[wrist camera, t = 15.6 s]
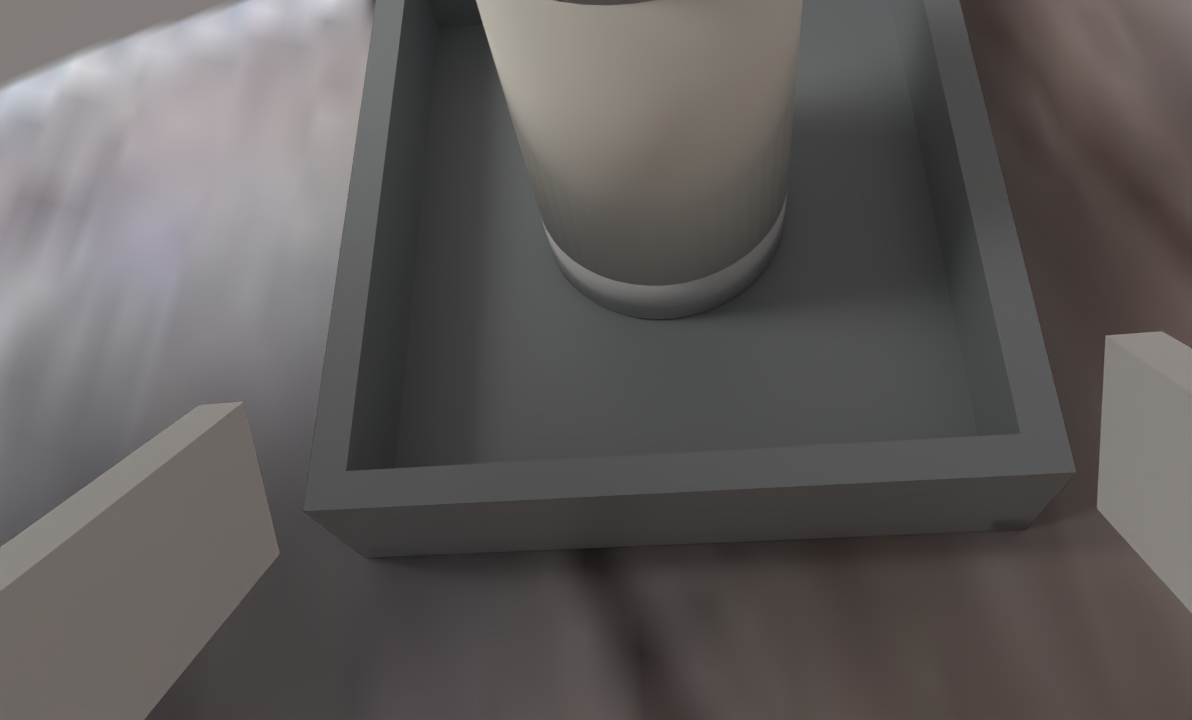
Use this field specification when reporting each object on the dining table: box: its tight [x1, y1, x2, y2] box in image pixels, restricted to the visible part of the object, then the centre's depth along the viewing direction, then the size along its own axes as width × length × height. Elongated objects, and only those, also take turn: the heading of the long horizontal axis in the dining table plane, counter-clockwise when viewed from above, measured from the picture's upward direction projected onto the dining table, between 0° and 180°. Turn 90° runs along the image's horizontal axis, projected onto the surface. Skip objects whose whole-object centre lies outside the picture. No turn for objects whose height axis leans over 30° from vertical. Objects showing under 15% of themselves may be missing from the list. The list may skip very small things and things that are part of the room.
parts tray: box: [303, 0, 1076, 558], centre depth 23 cm, size 15×17×4 cm
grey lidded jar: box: [476, 0, 803, 319], centre depth 19 cm, size 6×6×11 cm
